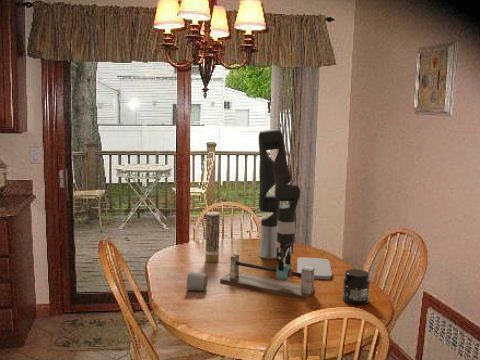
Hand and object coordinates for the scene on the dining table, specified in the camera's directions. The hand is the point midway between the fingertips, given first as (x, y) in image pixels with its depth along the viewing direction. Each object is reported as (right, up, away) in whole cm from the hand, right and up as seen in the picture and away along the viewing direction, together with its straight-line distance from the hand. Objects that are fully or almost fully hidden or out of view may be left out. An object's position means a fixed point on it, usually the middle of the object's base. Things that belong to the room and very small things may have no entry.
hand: (284, 267), depth 197 cm
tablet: (+17, -7, +28) cm, 34 cm away
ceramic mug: (-38, -9, 0) cm, 39 cm away
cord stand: (-7, -9, +5) cm, 13 cm away
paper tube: (-33, -4, +37) cm, 50 cm away
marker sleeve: (0, -5, +1) cm, 5 cm away
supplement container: (+28, -12, -8) cm, 32 cm away
